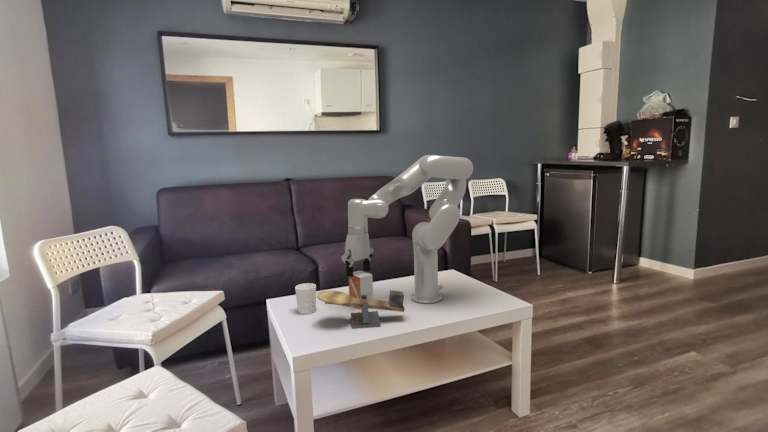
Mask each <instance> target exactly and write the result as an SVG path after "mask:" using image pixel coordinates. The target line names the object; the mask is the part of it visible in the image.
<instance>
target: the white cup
mask: <svg viewBox="0 0 768 432" xmlns="http://www.w3.org/2000/svg"><path fill="white" fill-rule="evenodd" d="M294 290H295V298H296V299H295V300H296V304H297V312H298V313H299V314H300V315H311V314H313V313H315V312H316V311H317V285H316V284H315V283H312V282H311V283H309V282H307V283H300V284H297V285H296V286H295V287H294Z"/></svg>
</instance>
